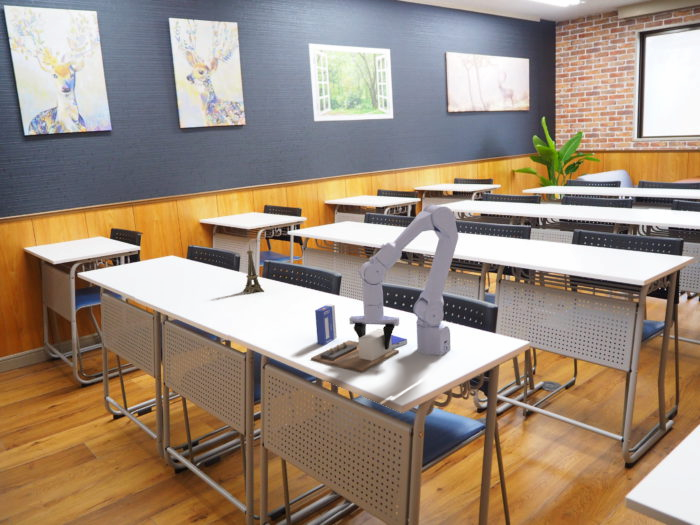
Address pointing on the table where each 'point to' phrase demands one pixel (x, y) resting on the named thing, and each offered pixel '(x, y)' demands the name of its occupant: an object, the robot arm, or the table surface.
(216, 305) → the table surface
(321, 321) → the walkman
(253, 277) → the eiffel tower
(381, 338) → the block
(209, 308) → the table surface
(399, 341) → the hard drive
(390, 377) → the table surface
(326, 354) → the board
